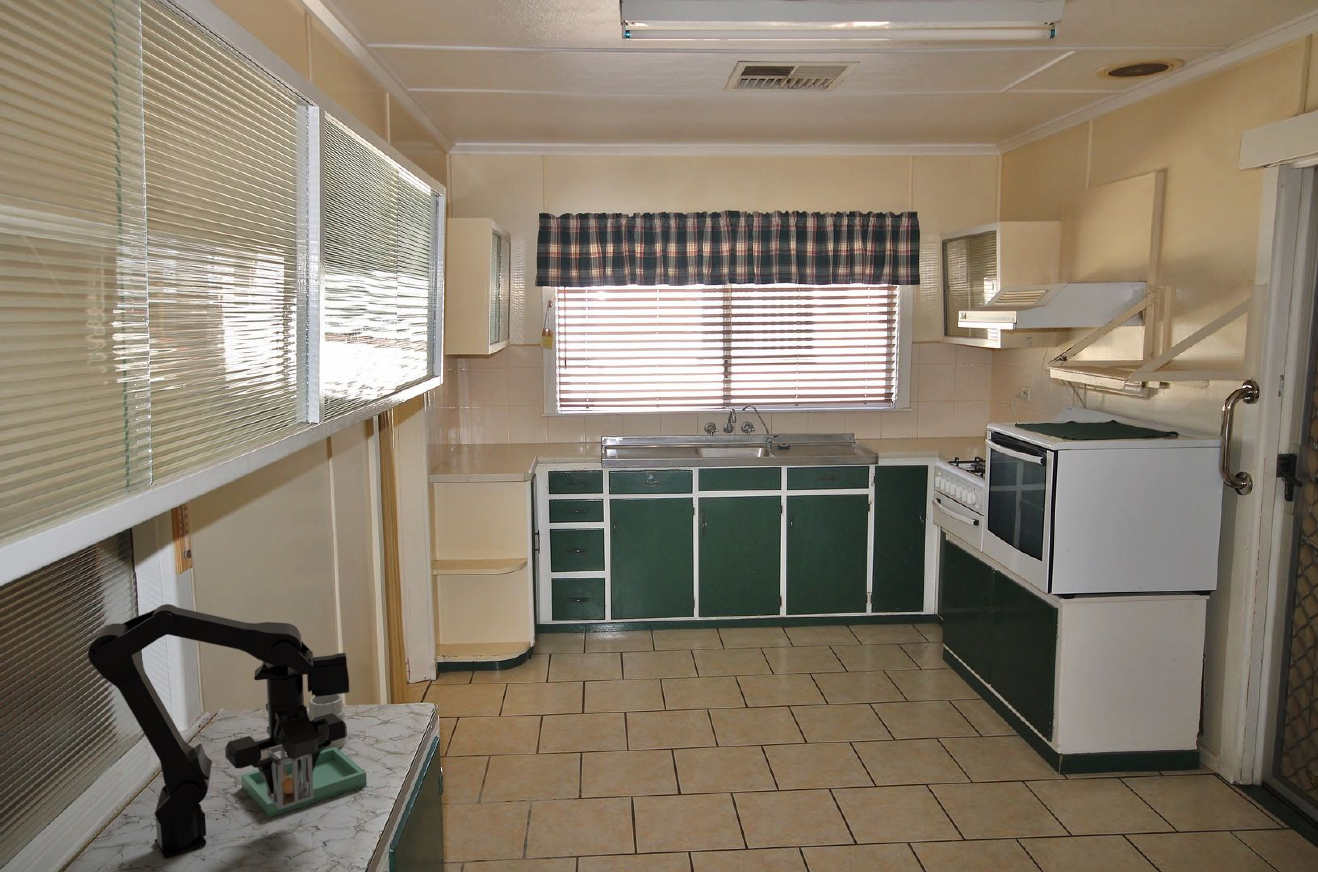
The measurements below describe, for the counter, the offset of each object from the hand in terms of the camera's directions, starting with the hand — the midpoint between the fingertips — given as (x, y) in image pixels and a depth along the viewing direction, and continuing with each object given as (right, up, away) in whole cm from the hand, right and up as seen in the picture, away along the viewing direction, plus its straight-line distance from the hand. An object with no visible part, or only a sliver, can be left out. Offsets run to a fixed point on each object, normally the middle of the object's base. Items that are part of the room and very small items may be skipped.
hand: (289, 787), depth 164 cm
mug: (-5, -3, +34) cm, 34 cm away
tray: (-3, -5, +14) cm, 16 cm away
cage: (0, -2, 0) cm, 2 cm away
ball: (0, 0, 0) cm, 0 cm away
